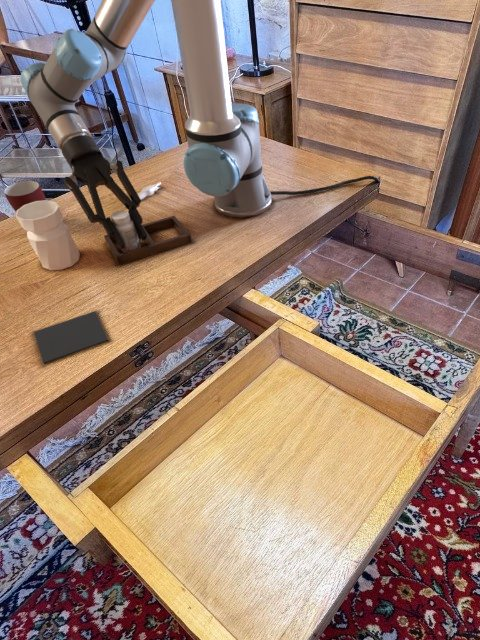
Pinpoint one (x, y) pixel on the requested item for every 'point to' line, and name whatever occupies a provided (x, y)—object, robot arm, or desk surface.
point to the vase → (48, 234)
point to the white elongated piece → (148, 191)
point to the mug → (23, 194)
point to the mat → (70, 337)
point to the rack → (151, 241)
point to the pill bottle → (126, 230)
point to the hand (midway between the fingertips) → (134, 241)
